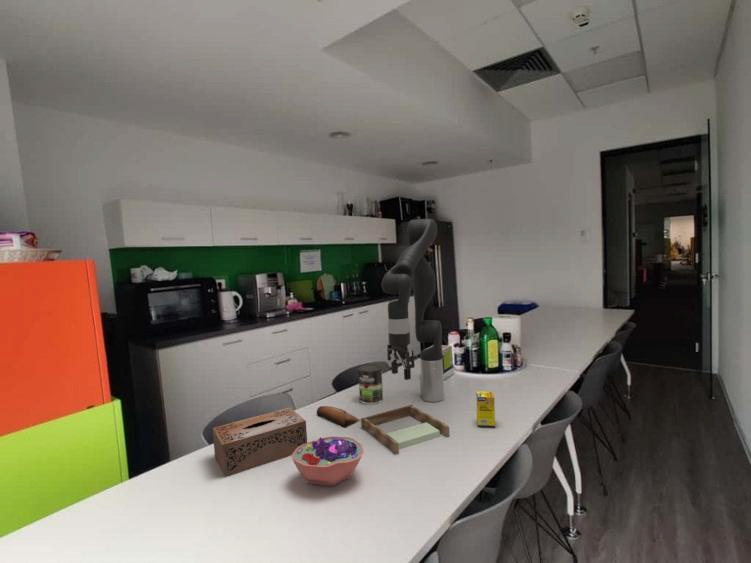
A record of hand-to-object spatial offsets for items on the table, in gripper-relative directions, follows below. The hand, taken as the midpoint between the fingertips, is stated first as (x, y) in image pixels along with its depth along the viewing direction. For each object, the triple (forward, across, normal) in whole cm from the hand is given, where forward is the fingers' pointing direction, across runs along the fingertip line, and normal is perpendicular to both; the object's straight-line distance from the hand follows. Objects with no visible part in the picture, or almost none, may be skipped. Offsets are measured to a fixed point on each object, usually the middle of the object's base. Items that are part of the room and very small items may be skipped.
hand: (401, 376), depth 139 cm
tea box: (+19, -39, +44) cm, 61 cm away
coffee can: (+19, -31, +3) cm, 36 cm away
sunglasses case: (+19, -22, -16) cm, 33 cm away
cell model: (+19, +16, -34) cm, 42 cm away
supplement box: (+19, +14, +26) cm, 35 cm away
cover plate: (+19, +8, -1) cm, 21 cm away
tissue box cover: (+19, -10, -48) cm, 52 cm away
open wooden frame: (+19, +3, -1) cm, 19 cm away
